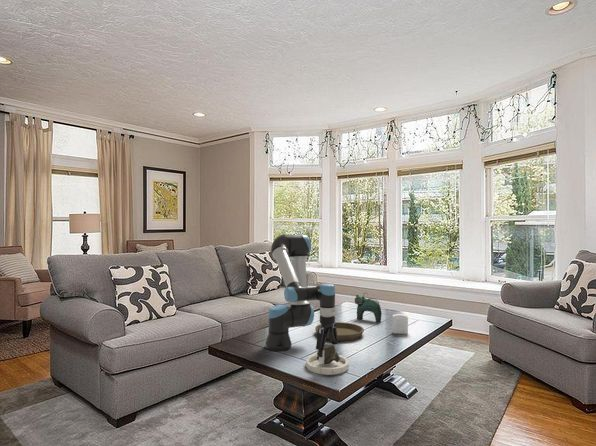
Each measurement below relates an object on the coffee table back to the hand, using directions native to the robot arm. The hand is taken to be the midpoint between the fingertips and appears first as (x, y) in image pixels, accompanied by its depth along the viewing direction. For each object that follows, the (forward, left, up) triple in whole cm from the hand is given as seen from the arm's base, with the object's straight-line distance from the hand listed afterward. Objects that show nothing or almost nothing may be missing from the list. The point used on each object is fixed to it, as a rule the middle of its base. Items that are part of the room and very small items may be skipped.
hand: (327, 360), depth 186 cm
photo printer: (+8, +76, -3) cm, 76 cm away
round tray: (0, 0, -3) cm, 3 cm away
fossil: (0, 0, -1) cm, 1 cm away
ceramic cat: (-23, +94, -3) cm, 97 cm away
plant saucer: (-22, +50, -4) cm, 55 cm away
